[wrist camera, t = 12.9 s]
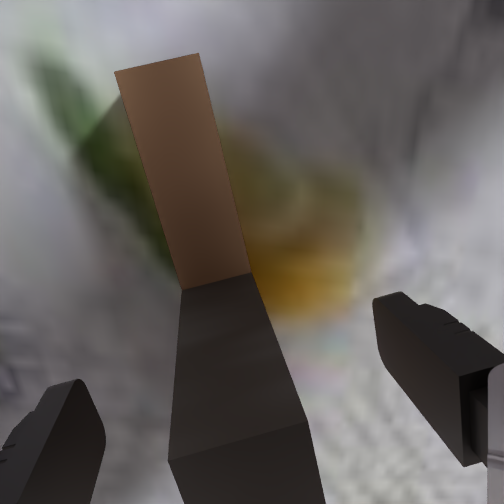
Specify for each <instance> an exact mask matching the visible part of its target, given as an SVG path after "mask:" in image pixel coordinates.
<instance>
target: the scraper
mask: <svg viewBox="0 0 504 504" xmlns="http://www.w3.org/2000/svg"><path fill="white" fill-rule="evenodd" d="M114 74H115V77H116V80H117V83H118V87H119V90H120V93H121V96H122V99H123V103H124V106H125V109H126V112H127V116H128V119H129V122H130V125H131V128H132V132H133V135H134V138H135V141H136V144H137V148H138V151H139V154H140V157H141V161H142V164H143V167H144V170H145V173H146V177H147V180H148V183H149V186H150V189H151V193H152V196H153V199H154V202H155V206H156V209H157V212H158V215H159V218H160V222H161V225H162V228H163V231H164V235H165V238H166V241H167V244H168V247H169V251H170V254H171V257H172V260H173V263H174V267H175V270H176V273H177V276H178V280H179V283H180V286H181V289H182V295H181V307H180V319H179V331H178V343H177V355H176V367H175V379H174V392H173V404H172V416H171V428H170V440H169V452H168V463H169V465H170V468H171V470H172V473H173V476H174V478H175V481H176V483H177V486H178V488H179V491H180V494H181V496H182V499H183V501H184V504H326V502H325V498H324V493H323V488H322V484H321V479H320V475H319V470H318V465H317V461H316V456H315V452H314V447H313V442H312V438H311V433H310V429H309V424H308V420H307V417H306V415H305V412H304V409H303V407H302V404H301V402H300V399H299V396H298V394H297V391H296V388H295V386H294V383H293V380H292V378H291V375H290V373H289V370H288V367H287V365H286V362H285V359H284V357H283V354H282V351H281V349H280V346H279V344H278V341H277V338H276V336H275V333H274V330H273V328H272V325H271V322H270V320H269V317H268V315H267V312H266V309H265V307H264V304H263V301H262V299H261V296H260V293H259V291H258V288H257V286H256V283H255V280H254V278H253V275H252V272H251V268H250V264H249V260H248V256H247V252H246V247H245V243H244V239H243V235H242V231H241V227H240V222H239V218H238V214H237V210H236V206H235V202H234V197H233V193H232V189H231V185H230V181H229V177H228V172H227V168H226V164H225V160H224V156H223V152H222V147H221V143H220V139H219V135H218V131H217V127H216V122H215V118H214V114H213V110H212V106H211V102H210V97H209V93H208V89H207V85H206V81H205V77H204V72H203V68H202V64H201V60H200V56H199V53H196V54H191V55H187V56H182V57H178V58H173V59H169V60H164V61H160V62H155V63H151V64H147V65H142V66H138V67H133V68H129V69H124V70H120V71H115V72H114Z"/></svg>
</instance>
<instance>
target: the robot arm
mask: <svg viewBox="0 0 504 504" xmlns="http://www.w3.org/2000/svg"><path fill="white" fill-rule="evenodd" d="M372 307H373V315H374V322H375V330H376V337H377V345H378V350H379V354H380V357H381V359H382V362H383V364H384V366H385V367H386V369H387V370H388V372H389V373H390V374H391V375H392V377H393V378H394V379H395V380H396V382H397V383H398V384H399V386H400V387H401V388H402V389H403V391H404V392H405V393H406V394H407V396H408V397H409V398H410V400H411V401H412V402H413V403H414V405H415V406H416V407H417V408H418V410H419V411H420V412H421V414H422V415H423V416H424V417H425V419H426V420H427V421H428V423H429V424H430V425H431V426H432V428H433V429H434V430H435V431H436V433H437V434H438V435H439V437H440V438H441V439H442V440H443V442H444V443H445V444H446V445H447V447H448V448H449V449H450V451H451V452H452V453H453V454H454V456H455V457H456V458H457V459H458V461H459V462H460V463H461V465H462V466H463V467H467V466H470V465H473V464H476V463H480V462H483V463H484V465H485V466H486V467H487V504H504V354H503V353H502V352H500V351H499V350H498V349H496V348H495V347H494V346H492V345H491V344H490V343H488V342H487V341H485V340H484V339H483V338H481V337H480V336H479V335H477V334H476V333H475V332H473V331H472V332H471V331H470V329H469V328H468V327H467V326H465V325H464V324H463V323H459V321H458V320H457V319H456V318H455V317H453V316H452V315H450V314H449V313H448V312H446V311H445V310H443V309H440V308H437V307H434V306H431V305H429V304H426V303H425V304H422V305H418V304H417V303H415V302H414V301H413V300H412V299H411V298H409V297H408V296H407V295H406V294H404V293H403V292H396V293H392V294H389V295H385V296H381V297H378V298H374V299H373V302H372ZM105 445H106V436H105V429H104V426H103V423H102V421H101V418H100V416H99V414H98V412H97V409H96V407H95V405H94V403H93V401H92V398H91V396H90V394H89V392H88V389H87V387H86V385H85V383H84V382H83V381H82V380H81V379H76V380H72V381H68V382H65V383H61V384H57V385H54V386H50V387H48V388H47V389H46V391H45V393H44V395H43V396H42V398H41V400H40V402H39V403H38V405H37V407H36V409H35V411H32V412H30V413H29V414H28V415H27V416H26V417H25V418H24V419H23V420H22V421H21V422H20V423H19V424H18V425H17V426H16V427H15V428H14V429H13V430H12V432H11V434H10V435H9V437H8V439H7V440H6V442H5V444H4V445H3V447H2V449H3V450H2V451H0V504H90V501H91V498H92V494H93V491H94V487H95V483H96V480H97V476H98V473H99V469H100V465H101V462H102V458H103V455H104V451H105Z"/></svg>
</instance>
